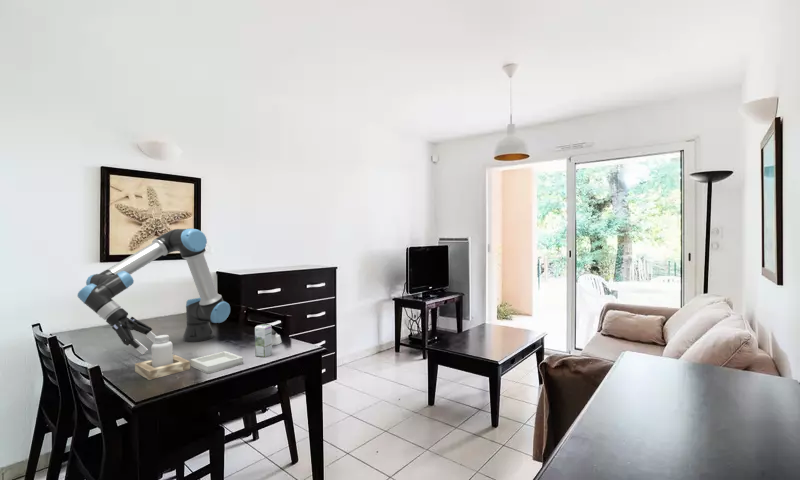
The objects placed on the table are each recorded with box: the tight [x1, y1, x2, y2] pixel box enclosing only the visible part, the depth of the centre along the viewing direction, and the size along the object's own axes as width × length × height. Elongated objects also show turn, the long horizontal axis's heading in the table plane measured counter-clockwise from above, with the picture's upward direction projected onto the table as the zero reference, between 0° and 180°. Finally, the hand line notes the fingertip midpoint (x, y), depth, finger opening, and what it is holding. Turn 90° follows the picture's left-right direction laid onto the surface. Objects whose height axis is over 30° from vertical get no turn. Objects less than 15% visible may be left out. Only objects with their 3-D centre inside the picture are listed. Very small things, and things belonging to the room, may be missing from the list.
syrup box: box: [254, 324, 273, 358], centre depth 192 cm, size 6×6×14 cm
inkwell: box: [272, 328, 283, 346], centre depth 209 cm, size 9×18×10 cm, turn 14°
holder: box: [134, 354, 191, 381], centre depth 171 cm, size 16×16×4 cm
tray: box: [190, 350, 244, 375], centre depth 178 cm, size 16×16×3 cm
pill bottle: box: [150, 334, 174, 368], centre depth 171 cm, size 8×8×15 cm
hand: (152, 347), depth 170 cm, fingers open, 13 cm apart
